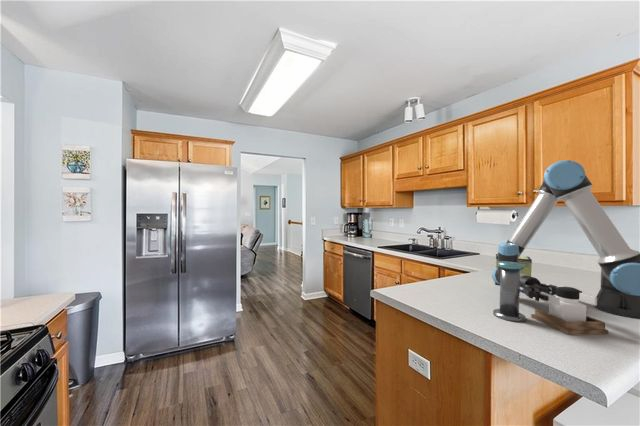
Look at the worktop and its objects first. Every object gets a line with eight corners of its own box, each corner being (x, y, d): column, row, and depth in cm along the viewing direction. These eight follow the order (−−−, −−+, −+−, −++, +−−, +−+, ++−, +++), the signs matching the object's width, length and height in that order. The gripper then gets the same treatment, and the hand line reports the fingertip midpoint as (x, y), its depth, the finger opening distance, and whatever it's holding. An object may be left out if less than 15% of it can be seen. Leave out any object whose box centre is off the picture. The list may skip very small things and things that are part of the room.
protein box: (531, 289, 138) (532, 259, 137) (494, 284, 146) (495, 256, 146) (528, 285, 147) (529, 256, 146) (494, 280, 155) (495, 253, 155)
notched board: (566, 316, 102) (566, 307, 102) (608, 334, 88) (608, 323, 88) (531, 317, 101) (531, 307, 101) (568, 334, 87) (568, 323, 87)
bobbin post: (511, 311, 107) (512, 260, 107) (532, 321, 97) (534, 266, 97) (487, 311, 106) (488, 260, 106) (506, 322, 96) (508, 266, 96)
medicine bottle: (586, 326, 91) (587, 291, 91) (562, 324, 92) (563, 289, 92) (570, 318, 98) (571, 285, 98) (548, 316, 99) (549, 283, 99)
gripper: (552, 293, 114) (610, 312, 92) (496, 293, 112) (542, 313, 91) (553, 275, 113) (611, 290, 92) (496, 275, 112) (543, 290, 90)
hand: (577, 301), depth 91 cm, fingers open, 13 cm apart
